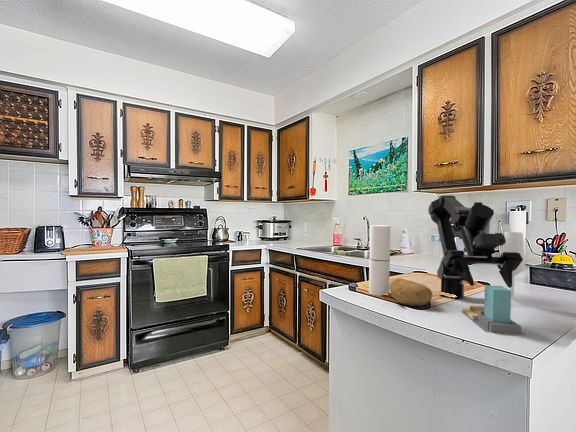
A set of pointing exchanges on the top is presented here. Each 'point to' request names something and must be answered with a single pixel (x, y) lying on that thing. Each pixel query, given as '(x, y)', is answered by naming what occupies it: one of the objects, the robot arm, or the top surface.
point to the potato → (410, 292)
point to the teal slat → (497, 304)
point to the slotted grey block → (497, 326)
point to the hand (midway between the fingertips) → (491, 286)
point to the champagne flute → (516, 245)
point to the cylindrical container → (379, 260)
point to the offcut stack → (473, 311)
